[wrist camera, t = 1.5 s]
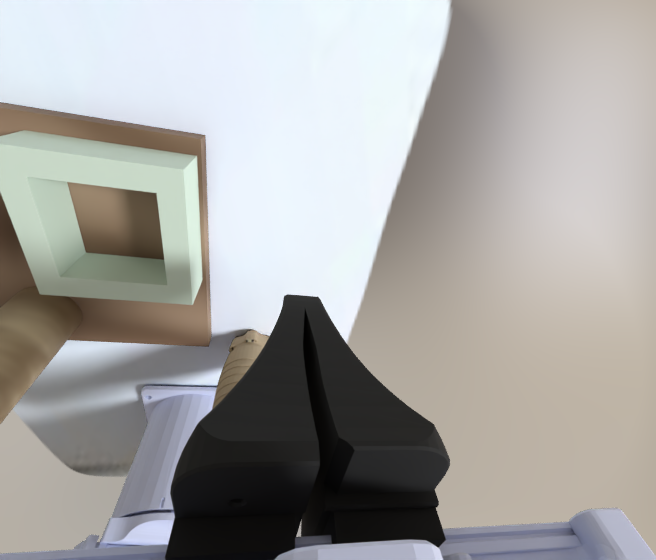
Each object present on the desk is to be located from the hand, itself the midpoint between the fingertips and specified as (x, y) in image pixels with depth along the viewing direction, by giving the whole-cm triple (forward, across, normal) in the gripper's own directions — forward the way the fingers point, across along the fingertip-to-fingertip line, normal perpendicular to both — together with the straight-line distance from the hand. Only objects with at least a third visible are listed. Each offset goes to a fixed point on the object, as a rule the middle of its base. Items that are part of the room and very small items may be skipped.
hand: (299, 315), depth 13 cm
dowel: (+7, +14, +7) cm, 18 cm away
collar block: (+7, +9, 0) cm, 12 cm away
